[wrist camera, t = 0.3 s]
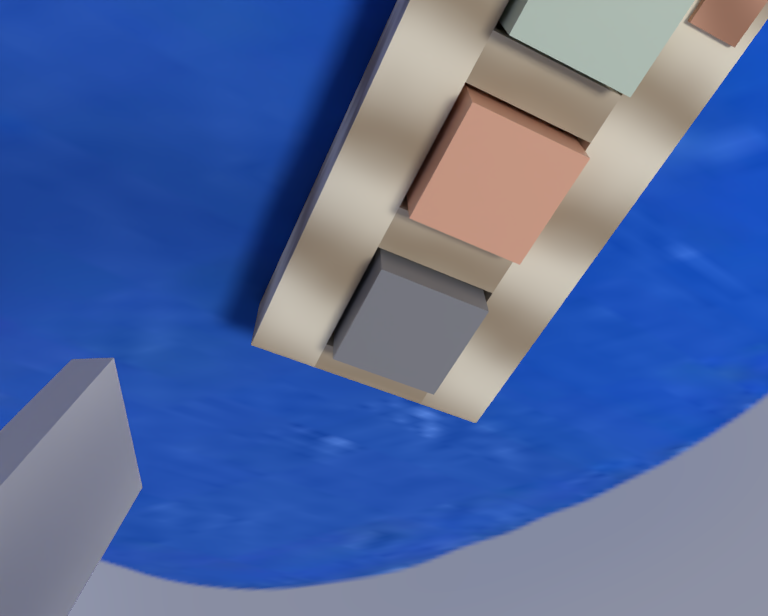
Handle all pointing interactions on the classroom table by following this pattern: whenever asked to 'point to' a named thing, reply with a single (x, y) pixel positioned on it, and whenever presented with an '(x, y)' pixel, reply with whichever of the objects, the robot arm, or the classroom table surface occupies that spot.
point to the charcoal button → (408, 322)
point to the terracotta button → (494, 175)
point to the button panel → (412, 143)
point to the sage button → (598, 34)
